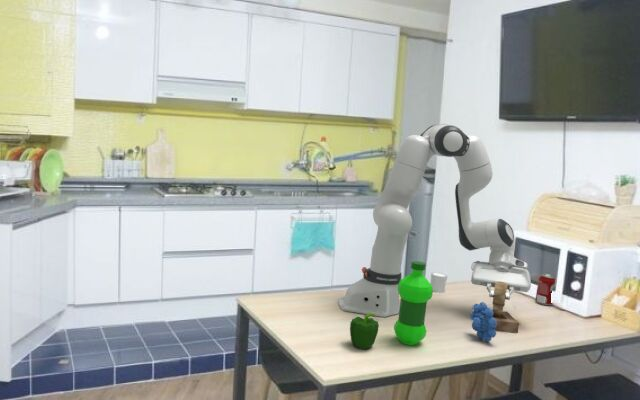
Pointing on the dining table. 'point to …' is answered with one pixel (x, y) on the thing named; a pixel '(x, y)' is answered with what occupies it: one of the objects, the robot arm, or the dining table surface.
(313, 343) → the dining table surface
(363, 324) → the bell pepper
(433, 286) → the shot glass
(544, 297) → the soda can
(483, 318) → the grapes
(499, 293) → the oak peg
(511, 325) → the wooden tray
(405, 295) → the plastic bottle
